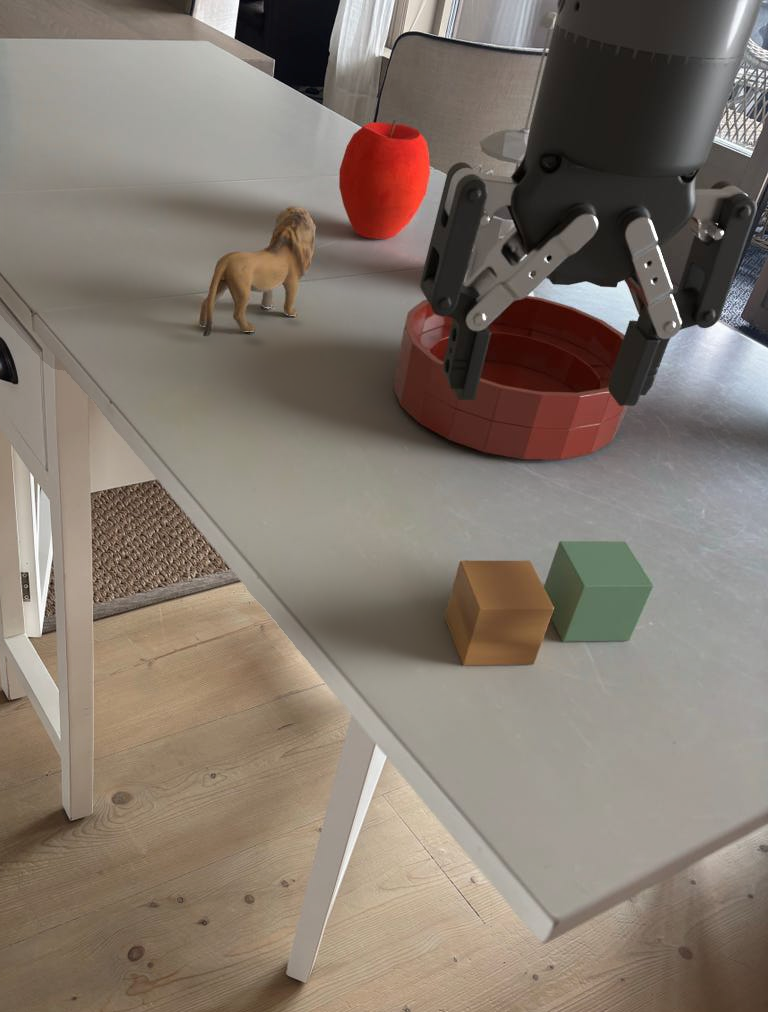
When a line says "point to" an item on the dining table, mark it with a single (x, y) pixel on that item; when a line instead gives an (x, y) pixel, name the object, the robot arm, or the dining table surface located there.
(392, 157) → the apple
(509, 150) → the french press
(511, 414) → the red shallow bowl
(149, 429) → the dining table surface
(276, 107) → the dining table surface
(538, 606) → the block
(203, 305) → the lion figurine
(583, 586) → the block
